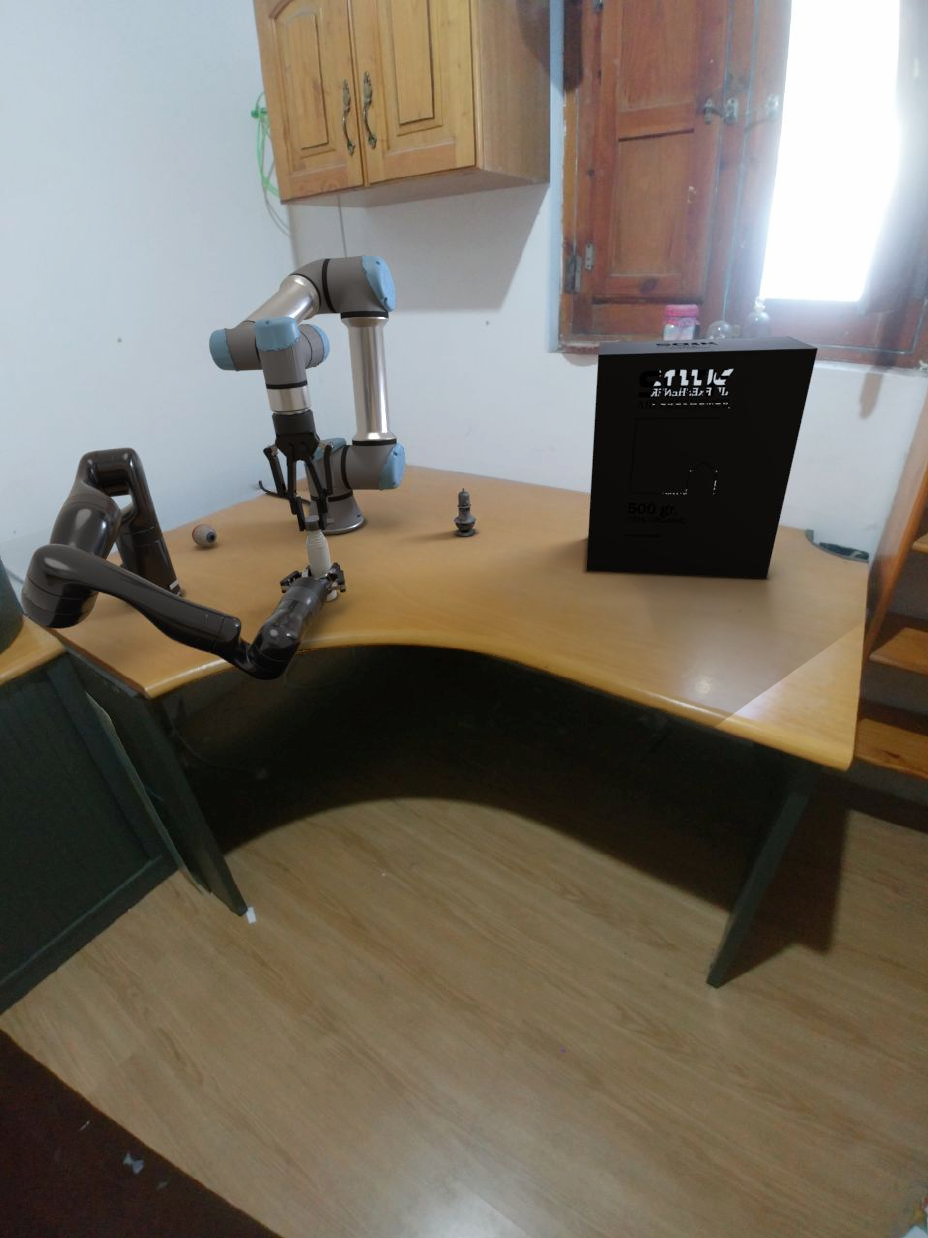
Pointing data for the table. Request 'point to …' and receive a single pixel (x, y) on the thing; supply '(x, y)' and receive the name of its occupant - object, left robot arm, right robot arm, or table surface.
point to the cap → (311, 523)
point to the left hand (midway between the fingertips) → (325, 566)
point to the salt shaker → (464, 515)
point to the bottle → (319, 556)
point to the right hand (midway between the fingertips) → (313, 528)
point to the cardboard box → (694, 454)
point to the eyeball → (204, 535)
